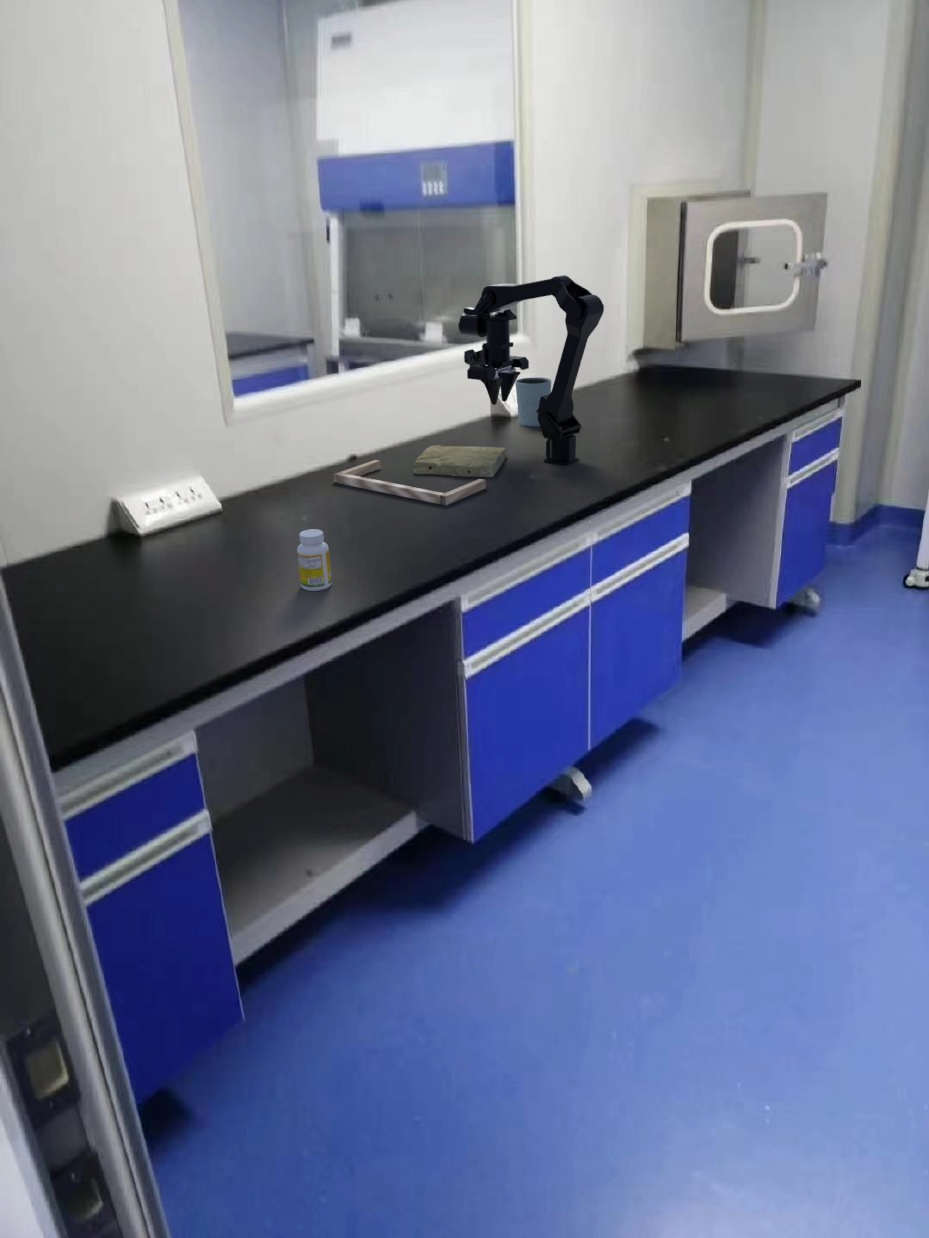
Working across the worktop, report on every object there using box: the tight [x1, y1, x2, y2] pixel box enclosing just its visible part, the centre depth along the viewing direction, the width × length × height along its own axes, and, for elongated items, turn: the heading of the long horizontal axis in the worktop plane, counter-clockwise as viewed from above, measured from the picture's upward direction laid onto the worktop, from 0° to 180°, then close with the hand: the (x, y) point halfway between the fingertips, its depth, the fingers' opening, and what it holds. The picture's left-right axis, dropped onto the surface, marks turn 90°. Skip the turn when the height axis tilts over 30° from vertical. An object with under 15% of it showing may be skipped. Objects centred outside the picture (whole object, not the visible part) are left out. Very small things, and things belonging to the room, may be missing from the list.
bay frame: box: [333, 459, 487, 506], centre depth 214 cm, size 33×14×2 cm, turn 53°
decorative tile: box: [413, 444, 507, 478], centre depth 227 cm, size 19×20×4 cm
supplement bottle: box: [296, 528, 332, 592], centre depth 160 cm, size 5×5×10 cm
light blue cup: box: [514, 377, 552, 428], centre depth 263 cm, size 10×10×12 cm
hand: (499, 403), depth 235 cm, fingers open, 4 cm apart
